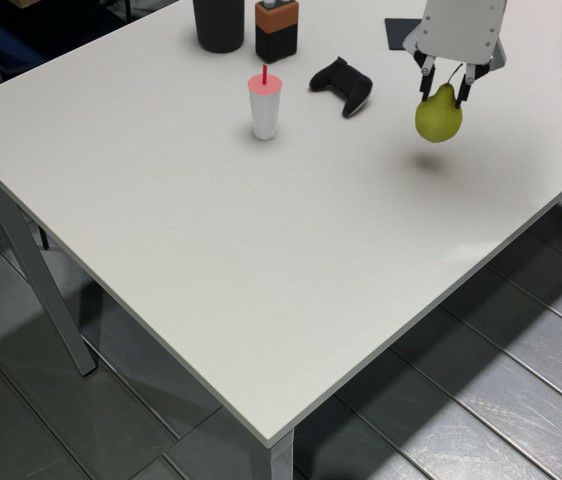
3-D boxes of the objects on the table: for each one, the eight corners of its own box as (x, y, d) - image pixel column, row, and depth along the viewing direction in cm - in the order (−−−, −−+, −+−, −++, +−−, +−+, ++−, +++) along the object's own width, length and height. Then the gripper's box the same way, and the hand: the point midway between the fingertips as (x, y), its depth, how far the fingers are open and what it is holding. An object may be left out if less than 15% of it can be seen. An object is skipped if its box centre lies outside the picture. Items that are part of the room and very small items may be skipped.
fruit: (417, 154, 94) (434, 82, 84) (405, 126, 98) (420, 52, 87) (460, 150, 95) (483, 77, 84) (447, 122, 98) (467, 48, 88)
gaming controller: (356, 125, 108) (382, 89, 105) (345, 116, 104) (372, 78, 101) (316, 93, 112) (340, 58, 109) (304, 83, 108) (329, 46, 105)
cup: (266, 118, 105) (266, 50, 94) (287, 134, 103) (290, 66, 92) (242, 132, 103) (239, 64, 92) (263, 148, 101) (263, 80, 90)
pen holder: (248, 53, 114) (247, -3, 106) (197, 56, 113) (192, 0, 105) (243, 24, 119) (241, -32, 110) (194, 27, 118) (188, -29, 110)
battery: (254, 53, 114) (253, -4, 106) (284, 41, 116) (286, -15, 108) (267, 65, 112) (267, 8, 104) (298, 53, 115) (300, -3, 106)
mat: (486, 22, 121) (486, 19, 121) (495, 51, 116) (496, 49, 116) (384, 19, 121) (384, 17, 121) (389, 49, 116) (389, 47, 115)
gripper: (550, -39, 75) (503, 97, 91) (415, -62, 78) (392, 73, 94) (542, -8, 72) (495, 128, 87) (400, -33, 75) (379, 103, 90)
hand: (442, 98), depth 90 cm, fingers closed on fruit, 4 cm apart
